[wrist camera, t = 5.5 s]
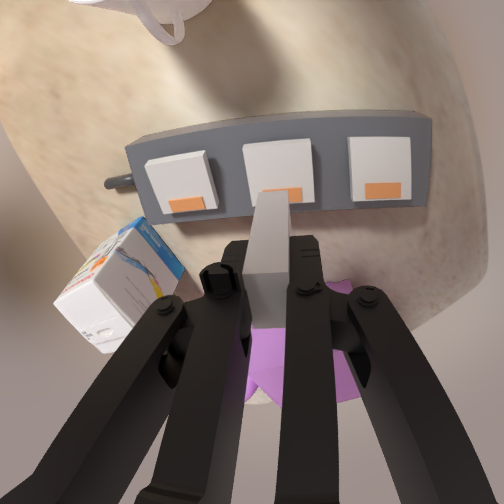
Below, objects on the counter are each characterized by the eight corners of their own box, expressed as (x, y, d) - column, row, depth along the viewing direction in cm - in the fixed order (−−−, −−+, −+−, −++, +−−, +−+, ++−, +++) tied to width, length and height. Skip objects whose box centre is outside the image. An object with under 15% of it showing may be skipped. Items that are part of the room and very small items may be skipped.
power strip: (99, 147, 28) (78, 159, 25) (414, 111, 23) (432, 118, 19) (120, 214, 32) (103, 232, 29) (411, 190, 27) (426, 207, 24)
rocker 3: (347, 136, 22) (349, 137, 20) (405, 136, 21) (410, 137, 20) (350, 198, 23) (353, 201, 22) (407, 196, 23) (411, 199, 22)
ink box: (143, 213, 32) (91, 279, 22) (186, 269, 36) (154, 345, 26) (98, 243, 35) (49, 304, 25) (138, 290, 39) (103, 357, 29)
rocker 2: (243, 144, 22) (241, 148, 21) (309, 138, 21) (310, 142, 20) (253, 200, 25) (252, 207, 24) (313, 196, 24) (314, 202, 23)
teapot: (367, 262, 33) (392, 350, 22) (385, 317, 37) (404, 398, 27) (217, 313, 39) (197, 394, 29) (254, 356, 44) (244, 430, 34)
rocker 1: (148, 160, 23) (143, 167, 22) (205, 150, 22) (202, 156, 22) (166, 207, 27) (162, 215, 26) (219, 201, 26) (217, 209, 25)
